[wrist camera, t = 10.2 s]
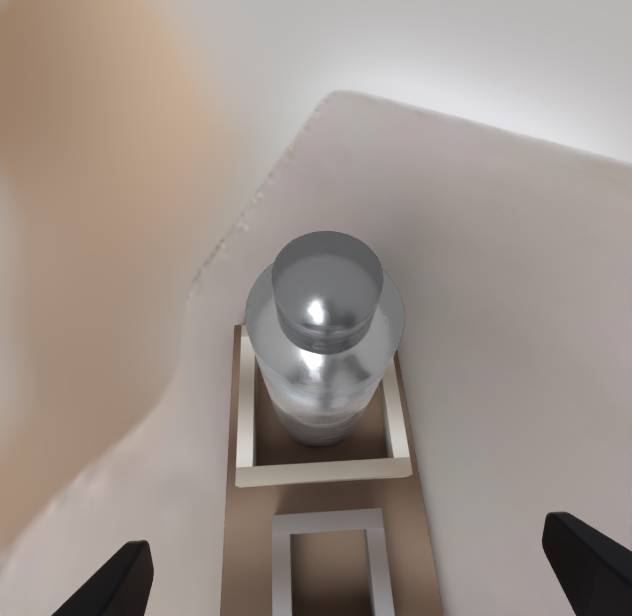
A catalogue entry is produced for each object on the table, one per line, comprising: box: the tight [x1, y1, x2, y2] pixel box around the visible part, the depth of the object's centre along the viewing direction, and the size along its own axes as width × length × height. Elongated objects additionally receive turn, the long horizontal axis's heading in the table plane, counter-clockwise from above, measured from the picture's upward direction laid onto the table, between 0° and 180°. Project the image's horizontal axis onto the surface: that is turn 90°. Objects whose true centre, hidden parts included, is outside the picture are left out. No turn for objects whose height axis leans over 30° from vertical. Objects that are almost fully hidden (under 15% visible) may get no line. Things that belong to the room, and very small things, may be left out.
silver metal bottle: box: [245, 231, 405, 448], centre depth 16 cm, size 5×5×13 cm
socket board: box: [220, 324, 443, 616], centre depth 20 cm, size 17×10×2 cm, turn 3°
